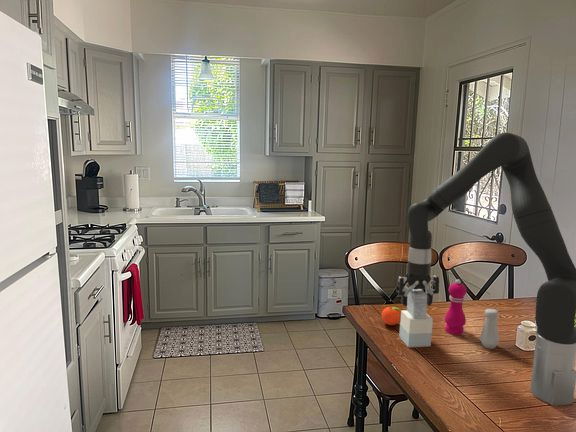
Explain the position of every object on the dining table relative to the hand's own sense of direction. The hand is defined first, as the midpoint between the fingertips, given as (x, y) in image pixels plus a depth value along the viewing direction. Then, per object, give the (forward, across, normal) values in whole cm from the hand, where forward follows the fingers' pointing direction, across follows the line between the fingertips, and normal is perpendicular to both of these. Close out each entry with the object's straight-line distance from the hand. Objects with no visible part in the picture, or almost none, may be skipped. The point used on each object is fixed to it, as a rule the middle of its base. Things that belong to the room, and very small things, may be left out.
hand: (416, 305), depth 140 cm
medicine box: (+4, 0, 0) cm, 4 cm away
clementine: (+14, -3, +14) cm, 20 cm away
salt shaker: (+14, +24, -6) cm, 28 cm away
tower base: (+13, 0, 0) cm, 13 cm away
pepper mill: (+14, +18, +6) cm, 23 cm away
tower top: (+8, 0, 0) cm, 8 cm away
